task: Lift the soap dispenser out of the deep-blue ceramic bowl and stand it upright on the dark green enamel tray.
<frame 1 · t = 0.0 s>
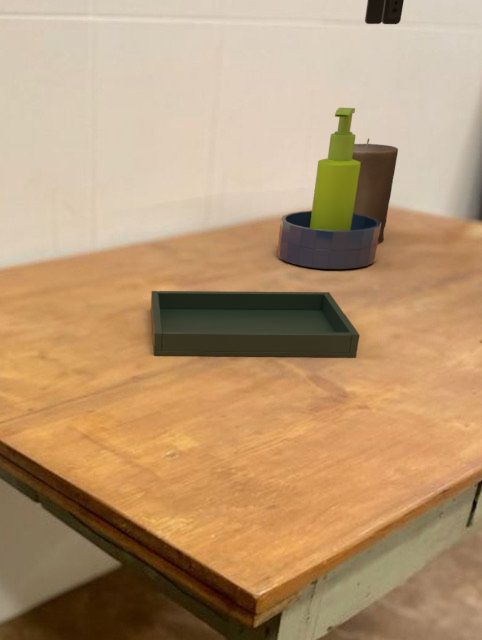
hand: (381, 24, 106), 30 cm above the table, tool pointing down, fingers open, 8 cm apart
tray: (245, 332, 94), on the table
pillar candle: (351, 239, 133), on the table
bowl: (325, 258, 122), on the table
soap dispenser: (325, 257, 122), resting on bowl
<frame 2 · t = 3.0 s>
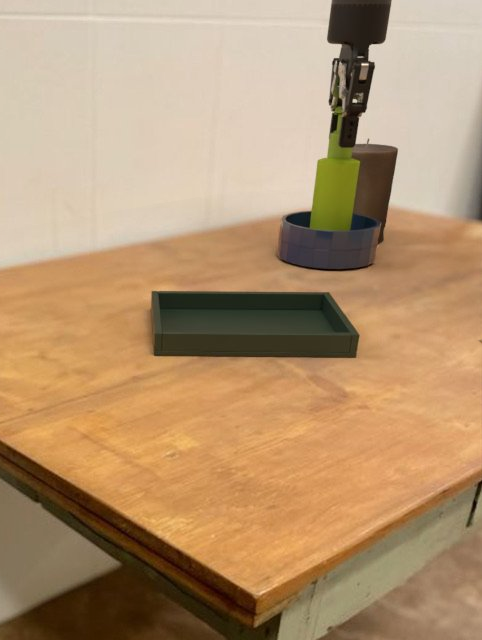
hand: (341, 143, 114), 16 cm above the table, tool pointing down, fingers closed on soap dispenser, 5 cm apart
soap dispenser: (325, 257, 122), resting on bowl, touching gripper
everything else where it was.
when the fingers open (16 cm above the table, at t = 11.8 s): soap dispenser stays where it is, resting on tray.
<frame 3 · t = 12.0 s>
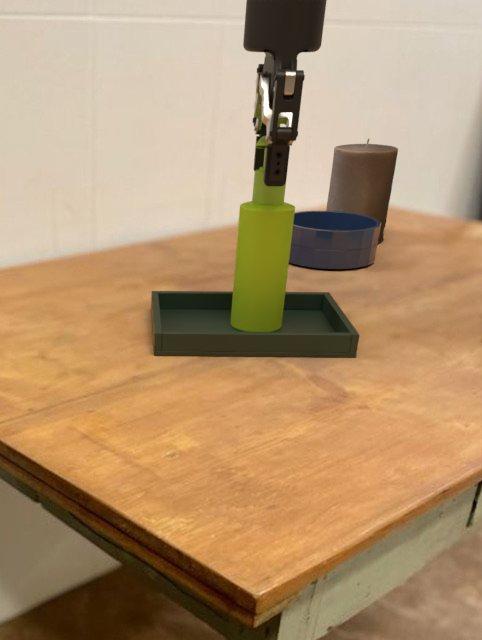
hand: (268, 179, 86), 16 cm above the table, tool pointing down, fingers open, 7 cm apart
soap dispenser: (254, 327, 94), resting on tray, touching gripper
everything else where it was.
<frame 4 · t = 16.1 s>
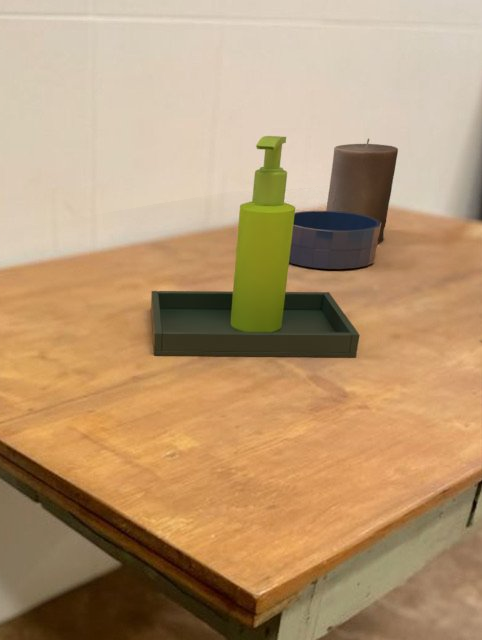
soap dispenser: (254, 327, 94), resting on tray
everything else where it was.
at the end: soap dispenser inside the target area in the tray (1.2 cm from its centre), point 0.3 cm above the tray's base; soap dispenser tilted 0°; the gripper is holding nothing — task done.
